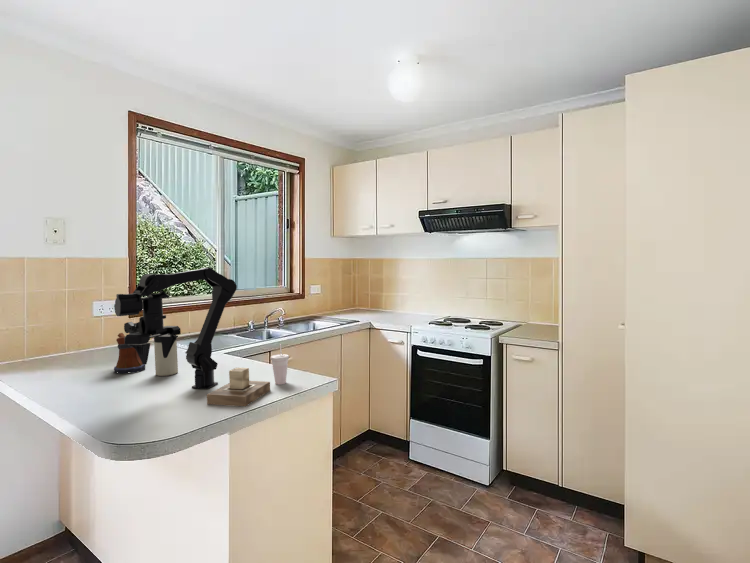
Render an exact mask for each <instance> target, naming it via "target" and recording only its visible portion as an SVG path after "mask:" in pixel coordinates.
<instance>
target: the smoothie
mask: <svg viewBox="0 0 750 563" xmlns="http://www.w3.org/2000/svg"><path fill="white" fill-rule="evenodd" d="M289 359H290V356H289V354H285V353H284V354H282V343H279V354H273V355H271V356H270V360H271V364H272V371H273V376H274V383H275V385H285V384H286V383H287V374H288V364H289Z"/></svg>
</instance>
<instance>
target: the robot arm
mask: <svg viewBox="0 0 750 563" xmlns="http://www.w3.org/2000/svg"><path fill="white" fill-rule="evenodd" d="M201 280H202V281H205V282H206V284H208V285H209V286H210V287H211V288H212V290H211V300H212V301H211V302H210V303H211V304H210V306H209V309H208V311H207V314H206V316H205V319H204V322H203V324H202V327H201V329H200V332H199V334H198V337H197V339H196V340H195V341H194V342H191V341H190V342H189V343H188V347H187V349H186V351H185V352H184V353H185V354H186V355H185V360H186V361H187V364H190V366H191V367H192V369H195V370H194V385H193V386H191V389H200V390H201V389H202V390H203V389H204V390H205V389H206V390H208V389H210V388H212V387H215V386H216V385H218V384H219V382H218V381H215V370H217V367H218V364H219V363H218V362H217V361H216V360H214V359H213V358H212V354H213V348H212V346H213V345H212V342H213V341H214V340H213V339H214V337H215V333H216V332H217V329H218V327H219V324H220V321H221V319H222V318H221V317H222V316H223V313H224V310H225V308H226V305H227V304H228V302H230V301H231V299H232V298H233V296H234V295H235V292H236V291H237V287H238V285H237V284H236V282H235V281H234V280H233V279H231V278H227V277H226V276H225V275H224V274H223V275H222V274H221V273H219V272H217V271H215V270H214V269H213V268H211V267H201V268H198V269H192V270H186V271H179V272H174V273H146V274H143V275H142V276H141V277H140V279H139V281H138V285H137V287H136V288H135V289H134V291H133V292H132V293H117V294H116V298H115V302H114V306H113V307H114V313H115V315H116V316H117V317H125V316H126V317H127V316H134V315H135V316H137V315H139V314H140V313H141V312H142V316H140V317H139V319H138V322H133V321H128V322H125V323H124V325H123V330H124V333H125V337H124V340H125V344H128V345H129V346H132V347H133V348H135V350H136V351H137V353H138V355H139V357H140V359H141V361H142V364H143V365H145V366H146V365H147V364H148V360H149V353H150V348H151V342H149V341H150V340H151V339H154V337H158V336H159V337H158V338H159V339H160V340H161V342H162V351H163V357H164V358H167V357H168V354H169V352H170V350H171V348H172V346H173V344H174V342H175V340H176V338H178V337H179V335H181V332H182V331H181V327H180V326H178V325H165V326H164V320H165V319H167V315H166V314H164V310H163V299H169V298H170V295H168V294H167V293H165V291H164V290H167V289H169V288H170V287H172V286H176V285H181V284H185V283H192V282H196V281H201Z"/></svg>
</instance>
